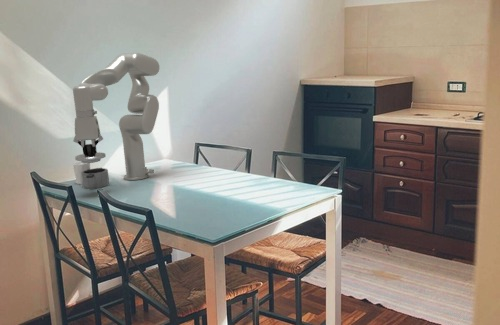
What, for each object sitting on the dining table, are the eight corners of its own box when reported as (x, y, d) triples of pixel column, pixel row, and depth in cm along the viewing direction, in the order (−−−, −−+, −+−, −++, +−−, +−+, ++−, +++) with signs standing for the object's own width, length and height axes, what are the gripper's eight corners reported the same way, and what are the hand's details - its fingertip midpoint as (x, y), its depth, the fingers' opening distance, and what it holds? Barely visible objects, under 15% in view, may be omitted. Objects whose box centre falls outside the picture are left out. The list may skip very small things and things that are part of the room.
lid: (109, 157, 246) (107, 140, 244) (101, 163, 233) (99, 146, 232) (80, 158, 246) (78, 142, 245) (71, 165, 234) (69, 148, 232)
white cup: (87, 184, 261) (84, 164, 259) (72, 184, 262) (70, 164, 260) (95, 180, 268) (92, 161, 266) (80, 180, 270) (78, 161, 268)
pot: (113, 180, 267) (111, 166, 265) (103, 189, 250) (101, 174, 248) (88, 181, 267) (87, 167, 265) (77, 190, 250) (76, 176, 248)
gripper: (105, 111, 239) (110, 152, 243) (69, 114, 239) (74, 154, 243) (101, 114, 232) (106, 155, 236) (63, 116, 232) (69, 158, 236)
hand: (90, 154), depth 239 cm, fingers closed on lid, 2 cm apart
